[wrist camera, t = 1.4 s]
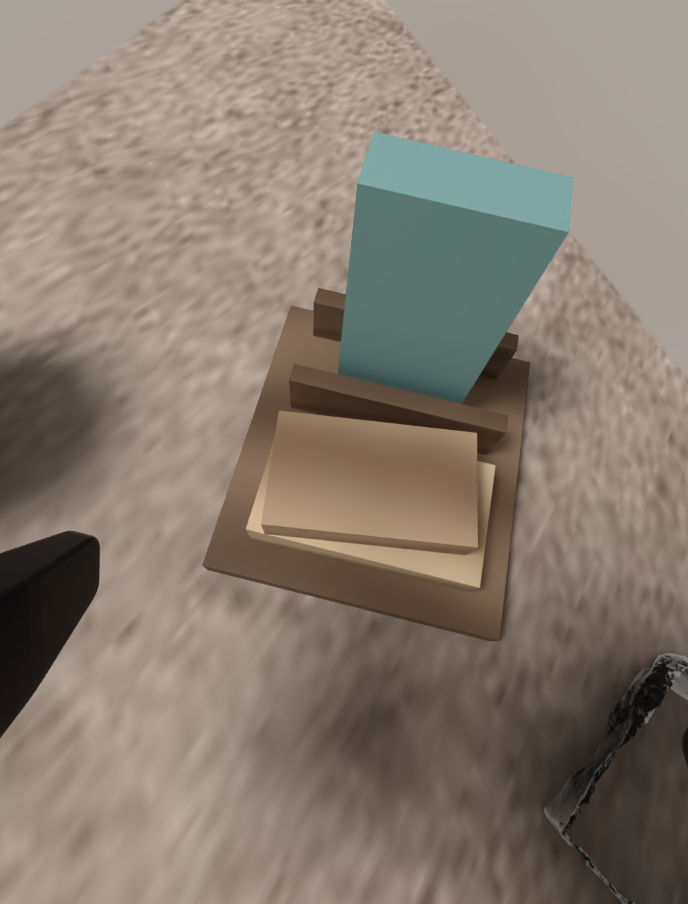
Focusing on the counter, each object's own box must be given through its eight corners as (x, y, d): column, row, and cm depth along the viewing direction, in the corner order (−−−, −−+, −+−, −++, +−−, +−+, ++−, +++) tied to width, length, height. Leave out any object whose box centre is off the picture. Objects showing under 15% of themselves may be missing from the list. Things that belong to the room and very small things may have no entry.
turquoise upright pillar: (452, 418, 23) (568, 232, 13) (335, 390, 23) (357, 183, 13) (458, 381, 24) (573, 177, 13) (345, 354, 24) (373, 131, 13)
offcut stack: (467, 592, 20) (494, 582, 17) (250, 538, 20) (239, 519, 17) (483, 469, 22) (511, 441, 19) (286, 421, 22) (283, 386, 19)
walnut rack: (489, 641, 20) (525, 639, 17) (207, 569, 21) (188, 554, 17) (520, 375, 25) (553, 332, 22) (291, 320, 26) (289, 269, 22)
